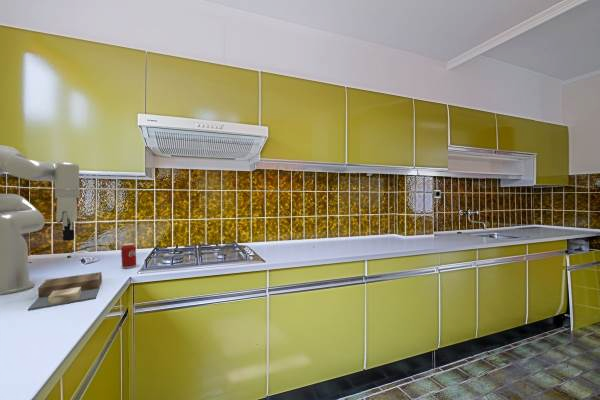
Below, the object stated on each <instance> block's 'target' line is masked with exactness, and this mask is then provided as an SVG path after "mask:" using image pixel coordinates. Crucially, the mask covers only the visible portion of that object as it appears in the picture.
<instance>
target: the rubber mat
mask: <svg viewBox="0 0 600 400" xmlns="http://www.w3.org/2000/svg"><path fill="white" fill-rule="evenodd" d="M99 289H100V288H98V289H92V290H86V291H81V295H80V297H79V299H77V300H72V301H66V302H60V303H54V304H49V303H48V297H42V298H39V297H38V298H37V299H36V300H34V302H33V303H32V304H31V305H30V306H29V307H28V308H27V311H29V312H30V311H35V310H39V309H45V308H51V307H57V306H62V305H68V304H74V303H79V302H84V301H90V300H96V299H97V296H98V292H99Z"/></svg>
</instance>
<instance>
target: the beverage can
mask: <svg viewBox="0 0 600 400" xmlns="http://www.w3.org/2000/svg"><path fill="white" fill-rule="evenodd" d="M120 249H121V250H120V253H121V267H122V268H123V269H133V268H135V267H136V266H137V250H136V249H137V248H136V245H135V243H134V242H132V243H131V242H128V243H124V244H122V246H121V247H120Z"/></svg>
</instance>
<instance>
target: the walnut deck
mask: <svg viewBox="0 0 600 400" xmlns="http://www.w3.org/2000/svg"><path fill="white" fill-rule="evenodd" d="M102 282H103V276H102V271H99V272H92V273H84V274H78V275H69V276H64V277H56V278H49V279H46V280H44V282H43V283H41V285H40V286H39V287H38V289H37V291H38V298H42V297H49V296H50V294H51V293H52V292H53V291H57V290H64V289H70V288H77V287H81V291H86V290H92V289H98V288H99V289H100V288H101V285H102Z"/></svg>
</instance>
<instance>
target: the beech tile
mask: <svg viewBox="0 0 600 400" xmlns="http://www.w3.org/2000/svg"><path fill="white" fill-rule="evenodd" d="M80 295H81V287H77V288H70V289H64V290H57V291H53V292H52V293H51V294H50V296H49V297H48V303H49V304H54V303H60V302H66V301H72V300H77V299H79V297H80Z"/></svg>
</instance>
